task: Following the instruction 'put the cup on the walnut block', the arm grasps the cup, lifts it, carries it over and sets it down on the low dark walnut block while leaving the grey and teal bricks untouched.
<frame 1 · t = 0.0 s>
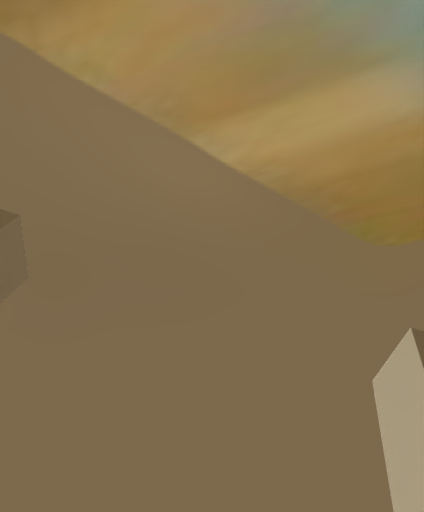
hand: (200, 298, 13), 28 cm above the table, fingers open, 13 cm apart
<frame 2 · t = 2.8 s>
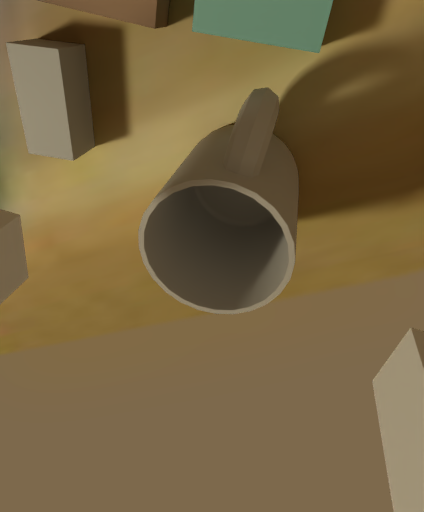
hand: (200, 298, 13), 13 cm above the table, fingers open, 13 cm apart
grey brick: (69, 95, 24), on the table
teal brick: (267, 3, 19), on the table
cup: (248, 157, 23), on the table
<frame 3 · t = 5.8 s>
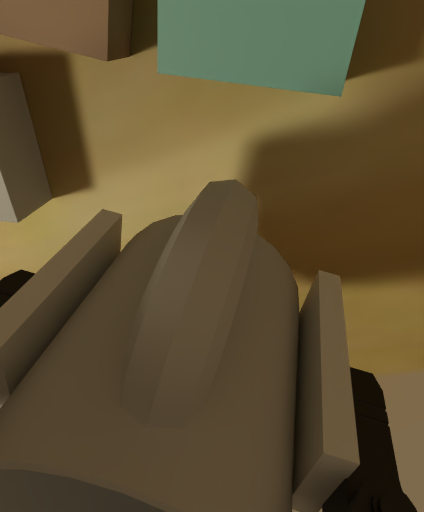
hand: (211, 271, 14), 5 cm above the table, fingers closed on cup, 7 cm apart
grey brick: (12, 138, 19), on the table
teal brick: (264, 27, 14), on the table
cup: (217, 259, 14), point 4 cm above the table, touching gripper
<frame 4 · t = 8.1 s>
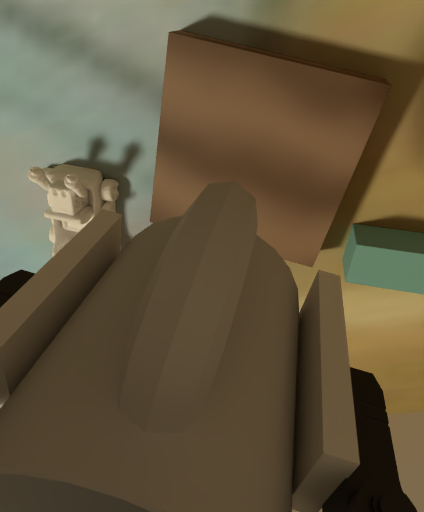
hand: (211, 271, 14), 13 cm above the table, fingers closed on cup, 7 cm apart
teal brick: (390, 246, 26), on the table
cup: (216, 261, 14), point 13 cm above the table, touching gripper
toy car: (90, 219, 31), on the table
walnut block: (254, 154, 25), on the table
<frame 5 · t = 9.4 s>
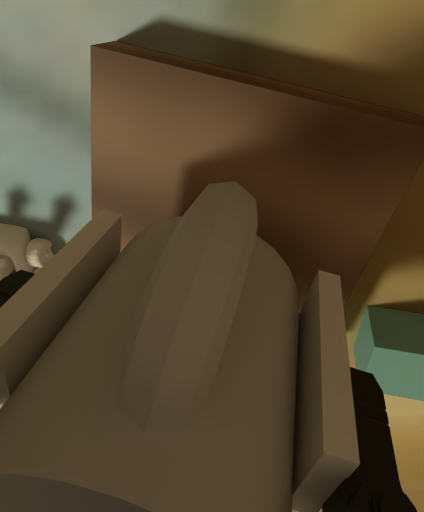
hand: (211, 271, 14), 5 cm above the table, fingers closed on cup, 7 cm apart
teal brick: (419, 333, 19), on the table
cup: (216, 261, 14), point 4 cm above the table, touching gripper
toy car: (26, 283, 24), on the table
walnut block: (231, 213, 18), on the table
when the fingers open (3 cm above the table, at t = 10.6 s): cup stays where it is, resting on walnut block.
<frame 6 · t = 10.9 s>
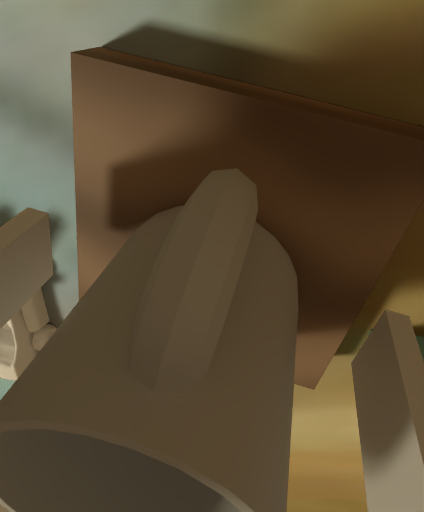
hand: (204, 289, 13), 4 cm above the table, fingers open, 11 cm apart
cup: (219, 249, 15), point 2 cm above the table, touching walnut block
toy car: (15, 302, 23), on the table
walnut block: (226, 231, 16), on the table
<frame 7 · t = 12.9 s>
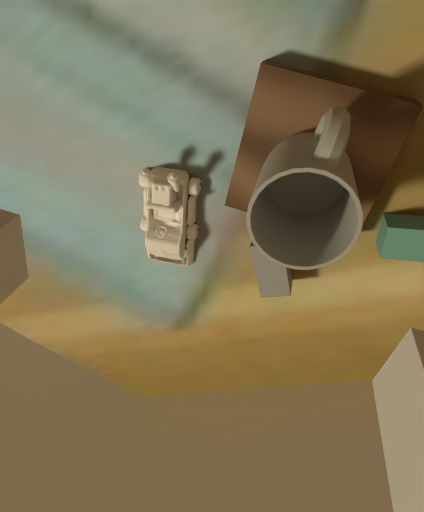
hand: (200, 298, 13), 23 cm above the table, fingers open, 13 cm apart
grey brick: (273, 255, 38), on the table
teal brick: (414, 229, 34), on the table
cup: (312, 158, 30), point 2 cm above the table, touching walnut block
toy car: (172, 211, 39), on the table
walnut block: (311, 154, 32), on the table
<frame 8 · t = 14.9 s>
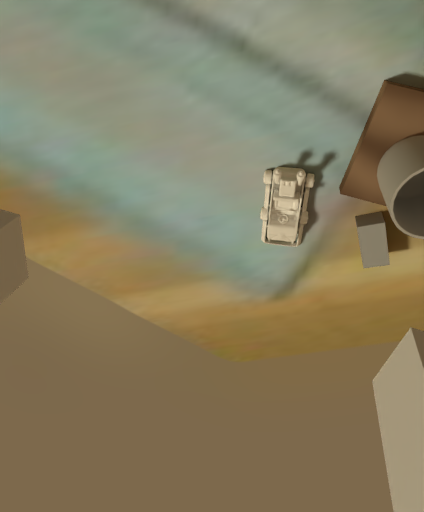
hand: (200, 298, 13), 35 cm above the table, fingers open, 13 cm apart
grey brick: (370, 234, 47), on the table
cup: (419, 155, 39), point 2 cm above the table, touching walnut block
toy car: (285, 202, 48), on the table
walnut block: (414, 151, 41), on the table
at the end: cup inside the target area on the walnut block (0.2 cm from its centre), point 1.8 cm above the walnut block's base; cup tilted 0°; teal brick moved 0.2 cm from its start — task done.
